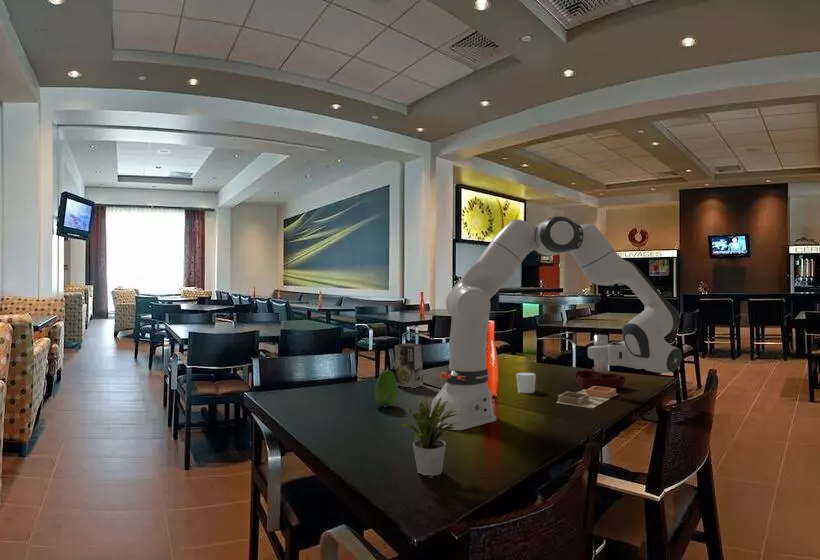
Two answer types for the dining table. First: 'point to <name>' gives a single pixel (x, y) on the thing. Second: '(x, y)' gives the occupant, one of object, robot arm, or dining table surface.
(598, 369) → the peg
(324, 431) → the dining table surface
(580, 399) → the rail board
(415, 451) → the house plant
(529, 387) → the white cup
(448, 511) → the dining table surface
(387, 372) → the avocado
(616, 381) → the ashtray
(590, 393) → the marked socket
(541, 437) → the dining table surface
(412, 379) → the coffee box
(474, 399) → the robot arm
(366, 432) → the dining table surface
